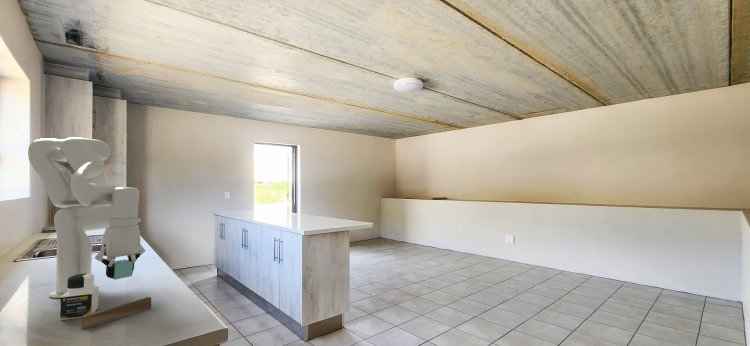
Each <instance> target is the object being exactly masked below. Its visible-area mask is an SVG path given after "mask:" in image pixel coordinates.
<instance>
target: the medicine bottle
mask: <svg viewBox="0 0 750 346" xmlns="http://www.w3.org/2000/svg"><path fill="white" fill-rule="evenodd" d="M94 285H95V275H94V273H91V274H90V273H84V274H77V275H74V276H71V277H69V278H68V283H67V291H68V292H66V293H65V294H64V295H62V296H61V298H60V312H59V313H60V314H59V321H65V320H75V319H82V316H84V315H87V314H91V313H94V312H97V310H98V309H99V293H100V292H99V290H100V287H99V286H97V285H96V287H93V286H94Z"/></svg>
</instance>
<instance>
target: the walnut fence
mask: <svg viewBox="0 0 750 346" xmlns="http://www.w3.org/2000/svg"><path fill="white" fill-rule="evenodd" d="M151 309H152V297H150V296H146V297H143V298H140V299H139V298H138V299H136V300H134V301H133V300H132V301H129V302H126V303H123V304H119V305H115V306H112V307H109V308H105V309H101V310H98V311H95V312H94V313H91V314H87V315H84V316H82V317H81V329H82V330H84V331H86V330H88V329H92V328H94V327H98V326H101V325H103V324H107V323H111V322H113V321H117V320H119V319H123V318H126V317H129V316H132V315H136V314H138V313H142V312H145V311H148V310H151Z"/></svg>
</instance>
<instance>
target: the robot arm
mask: <svg viewBox="0 0 750 346" xmlns="http://www.w3.org/2000/svg"><path fill="white" fill-rule="evenodd" d="M27 149H28V150H27V157H28V161H29V163H30V165H31V167H32V168H33V170H34V171H35V172H36V173H37V175H38V176H39V177H40V179H41V181H42V183H43V184H42V185H44V188H45V191H46V193H47V195H48V198H49V199H50V202H51V203H52V204H53V206H55V207H57V208H61V209H59V210H58V211H56V213H55V215H54V216H53V222H54V223H53V224H54V228H55V233H56V234H55V235H56V264H55V266H56V269H55V289H53V290H52V291H50V292H49V295H48V296H49V297H50V298H54V299H59V298H60V299H61V296H62V295H64V294H65V293H66V292H68V291H67V283H68V278H69V277H71V276H74V275H77V274H84V273H90V274H92V261H93V259H92V258H93V257H92V256H93V242H92V239H91V237H89V236H88V234H87V233H86V232H87V231H93V230H102V229H103V230H104V229H105V231H104V233H103V237H102V242H101V247H100V249H101V250H100V251H99V252H98V253H97V254H96V255H95V257H94V259H95V260H96V261H99V262H100V263H101V264H103V265H104V266H105V276H106V277H107V278H109V279H112V278H113V277H114V266H113V263H114V261H116V258H119V257H124V256H127V260H129V261H132V262H133V268H132V275H133V273H134V270H135V263H136V262H137V260H138V259H139V258H140V257H141V255H143V254H144V253H145V252H146V249H145V248H144V247H143V245H142V244H141V233H140V232H141V231H140V226H139V225H138V223H140V222H141V221H142V218H140V217H138V215H139V201H140V190H139V189H138V188H137V187H134V186H133V187H132V186H128V187H127V186H125V185H121V184H120V185H119V184H117V185H116V184H114V185H113V184H111V185H110V184H98V183H96V182H95V183H94V182H89V181H88V180H91V179H93V178H95V177H98V176H100V175H101V174H102V173H103V172H104V170H105V167H106V165H105V161H106V160H107V159H109V157H110V155H111V148H110V146H109V145H108V144H107V143H106V142H105V141H103V140H100V139H94V138H85V137H76V136H75V137H74V136H73V137H68V138H65V139H58V138H40V139H35V140H33V141H32V142H30V144H29V145H28V148H27ZM60 162H65V163H66V162H67V163H68V164H69V166H70V167H71V168H72V170H73V171H74V172H73V173H72V172H71V170H69V169H68V168H67V167H66V166H64V165H63V164H61V163H60ZM104 257H106V258H104ZM96 286H97V285H96V284H94V286H93V287H96Z"/></svg>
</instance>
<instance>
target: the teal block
mask: <svg viewBox="0 0 750 346" xmlns="http://www.w3.org/2000/svg"><path fill="white" fill-rule="evenodd" d="M113 266H114V277H113V278H111V279H112V280H115V281H116V280H119V279H120V280H121V279H125V278H130V277H133V274H132V268H133V262H132V261H129V260H128V259H125V258H124V259H120V260H115V261H114V263H113Z"/></svg>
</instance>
